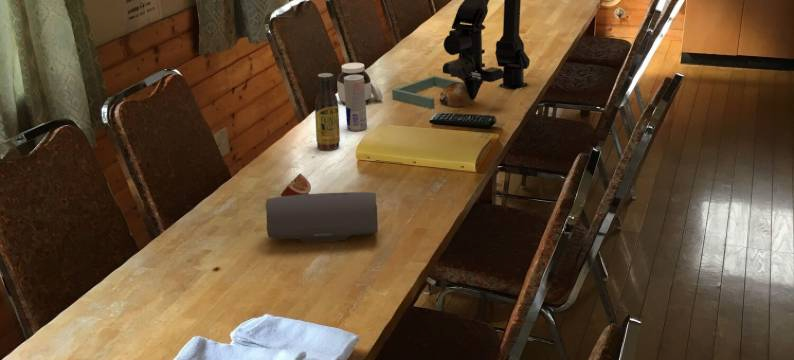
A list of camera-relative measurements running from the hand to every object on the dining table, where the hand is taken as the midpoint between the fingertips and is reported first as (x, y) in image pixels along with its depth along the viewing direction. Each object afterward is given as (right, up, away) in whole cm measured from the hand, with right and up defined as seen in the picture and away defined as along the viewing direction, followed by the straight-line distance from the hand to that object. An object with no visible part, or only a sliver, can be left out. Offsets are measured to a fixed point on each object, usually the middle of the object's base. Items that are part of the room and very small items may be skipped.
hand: (473, 99), depth 277 cm
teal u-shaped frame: (-11, +2, +11) cm, 16 cm away
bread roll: (-4, -1, +4) cm, 6 cm away
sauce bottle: (-40, -15, -26) cm, 51 cm away
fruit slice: (-46, -28, -58) cm, 79 cm away
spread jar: (-33, 0, +10) cm, 34 cm away
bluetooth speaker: (-38, -36, -78) cm, 94 cm away
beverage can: (-33, -10, -13) cm, 37 cm away
